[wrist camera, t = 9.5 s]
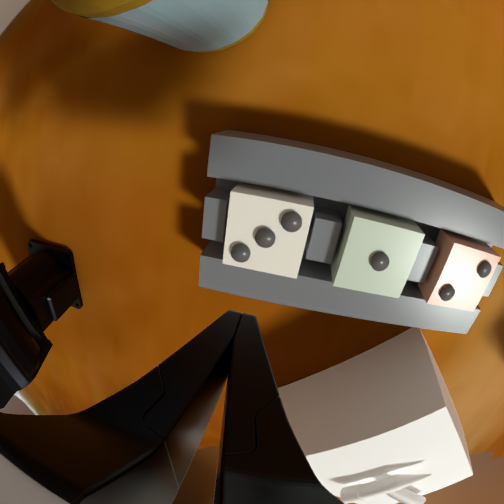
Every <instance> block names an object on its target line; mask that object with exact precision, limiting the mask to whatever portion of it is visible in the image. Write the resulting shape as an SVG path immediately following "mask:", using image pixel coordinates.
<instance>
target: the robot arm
mask: <svg viewBox="0 0 504 504" xmlns="http://www.w3.org/2000/svg"><path fill="white" fill-rule="evenodd" d="M28 249H29V253H30V256H29V257H27V258H26V259H25V260H23V261H22V262H21V263H19V264H18V265H17V266H15V267H14V268H13V269H12V270H10V271H9V272H8V273H7V271H6V269H5V268H6V267H5V265H4V263H3V262H2V263H0V409H1V408H4V407H5V405H6V404H7V403H8V401H9V400H10V399H11V397H12V396H13V395H14V394H15V393H16V392H17V391H19V390H21V389H23V388H25V387H26V386H27V385H29V384H30V383H31V382H32V381H33V379H34V378H35V377H36V375H37V373H38V371H39V369H40V367H41V365H42V363H43V362H44V360H45V358H46V356H47V354H48V352H49V350H50V349H51V347H52V345H53V344H52V343H51V342H50V340H48V339H47V337H46V336H45V334H44V333H43V332H44V330H45V329H46V328H47V327H48V326H49V325H50V324H51V323H52V322H53V321H57V320H58V319H59V318H60V317H61V316H62V315H63V313H64V312H65V311H66V310H67V309H68V308H69V307H70V306H72V307H75V308H77V309H80V308H81V307H82V306H83V303H82V299H81V294H80V290H79V285H78V280H77V275H76V270H75V264H74V259H73V254H72V253H71V252H70V251H69V250H66V249H63V248H59V247H56V246H52V245H49V244H46V243H42V242H39V241H36V240H33V239H31V240H29V241H28ZM227 377H228V380H227ZM226 380H227V387H226V396H225V404H224V413H223V421H222V430H221V439H220V448H219V457H218V466H217V475H216V484H215V494H214V503H213V504H344V503H343V502H341V501H340V500H339V499H338V498H337V497H335V496H334V495H333V494H332V493H330V492H329V491H328V490H327V489H326V488H325V487H324V486H323V485H322V484H321V483H320V481H319V480H318V478H317V477H316V475H315V473H314V472H313V470H312V468H311V466H310V464H309V462H308V460H307V458H306V456H305V454H304V452H303V450H302V449H301V447H300V445H299V443H298V441H297V439H296V437H295V434H294V432H293V430H292V428H291V426H290V423H289V421H288V418H287V415H286V413H285V410H284V407H283V404H282V401H281V398H280V397H279V396H280V395H279V391H278V388H277V385H276V382H275V378H274V375H273V372H272V369H271V365H270V362H269V359H268V355H267V352H266V349H265V346H264V342H263V339H262V336H261V332H260V329H259V326H258V322H257V319H256V316H254V315H251V314H246V313H243V314H241V312H237V311H233V310H229V311H227V312H226V313H225V314H223V315H222V316H221V317H220V318H218V319H217V320H216V321H214V322H213V323H212V324H211V325H209V326H208V327H207V328H206V329H204V330H203V331H202V332H201V333H199V334H198V335H197V336H195V337H194V338H193V339H192V340H190V341H189V342H188V343H187V344H185V345H184V346H183V347H181V348H180V349H179V350H178V351H176V352H175V353H174V354H172V355H171V356H170V357H168V358H167V359H166V360H165V361H163V362H162V363H161V364H159V365H158V366H157V367H155V368H154V369H153V370H151V371H150V372H149V373H147V374H146V375H144V376H143V377H142V378H140V379H139V380H137V381H136V382H134V383H133V384H131V385H129V386H128V387H126V388H124V389H123V390H121V391H119V392H117V393H115V394H114V395H112V396H110V397H108V398H106V399H105V400H103V401H101V402H99V403H97V404H95V405H93V406H92V407H90V408H88V409H86V410H83V411H81V412H78V413H75V414H70V415H13V414H5V413H1V412H0V504H172V502H173V500H174V498H175V496H176V494H177V492H178V489H179V487H180V485H181V483H182V481H183V478H184V476H185V474H186V472H187V470H188V467H189V465H190V463H191V461H192V459H193V456H194V454H195V452H196V450H197V447H198V445H199V443H200V441H201V438H202V436H203V434H204V431H205V429H206V427H207V425H208V422H209V420H210V418H211V415H212V413H213V411H214V408H215V406H216V404H217V401H218V399H219V397H220V394H221V392H222V390H223V387H224V385H225V382H226Z"/></svg>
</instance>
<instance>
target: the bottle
mask: <svg viewBox="0 0 504 504" xmlns="http://www.w3.org/2000/svg"><path fill="white" fill-rule="evenodd" d="M50 1H51V2H53V3H54V4H55V5H56V6H57V7H58V8H59V9H61V10H63V11H66V12H69V13H72V14H75V15H79V16H82V17H85V18H89V19H92V20H96V21H100V22H103V23H107V24H110V25H114V26H117V27H120V28H124V29H127V30H130V31H133V32H136V33H139V34H142V35H144V36H147V37H150V38H153V39H155V40H158V41H161V42H163V43H166V44H168V45H171V46H173V47H176V48H178V49H182V50H185V51H189V52H196V53H208V52H216V51H221V50H224V49H226V48H229V47H232V46H234V45H236V44H238V43H240V42H241V41H243V40H244V39H245V38H247V37H248V36H250V35H251V34H252V33H253V32H254V31H255V30H256V29H257V27H258V26H259V25H260V24H261V22H262V21H263V19H264V17H265V14H266V11H267V9H268V4H269V0H50Z"/></svg>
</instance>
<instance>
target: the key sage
mask: <svg viewBox="0 0 504 504" xmlns="http://www.w3.org/2000/svg"><path fill="white" fill-rule="evenodd" d="M424 236H425V234H424V232H423V231H422V230H421V229H420V228H419V226H418V225H417V224H416V223H415V222H414V221H413V220H410V219H406V218H403V217H399V216H395V215H391V214H388V213H384V212H380V211H376V210H372V209H368V208H364V207H360V206H356V205H352V204H349V205H348V208H347V212H346V216H345V220H344V223H343V227H342V230H341V234H340V237H339V241H338V244H337V248H336V251H335V255H334V258H333V261H332V264H331V274H332V282H333V286H336V287H341V288H346V289H351V290H356V291H362V292H367V293H372V294H378V295H383V296H388V297H394V298H399V297H400V294H401V292H402V290H403V288H404V286H405V283H406V281H407V279H408V276H409V274H410V272H411V269H412V267H413V265H414V262H415V260H416V257H417V255H418V252H419V249H420V247H421V244H422V242H423V239H424Z"/></svg>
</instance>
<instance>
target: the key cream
mask: <svg viewBox="0 0 504 504" xmlns="http://www.w3.org/2000/svg"><path fill="white" fill-rule="evenodd" d="M313 210H314V202H313V196H311V195H307V194H302V193H297V192H292V191H287V190H282V189H277V188H272V187H266V186H261V185H255V184H250V183H244V182H238V183H237V185H236V186H235V187H234V188H233V189H232V190H231V193H230V201H229V209H228V218H227V227H226V235H225V244H224V254H223V264H227V265H232V266H237V267H242V268H246V269H251V270H256V271H261V272H266V273H271V274H275V275H280V276H285V277H290V278H295V279H297V276H298V272H299V268H300V264H301V260H302V256H303V252H304V248H305V244H306V240H307V235H308V231H309V227H310V223H311V219H312V214H313Z"/></svg>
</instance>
